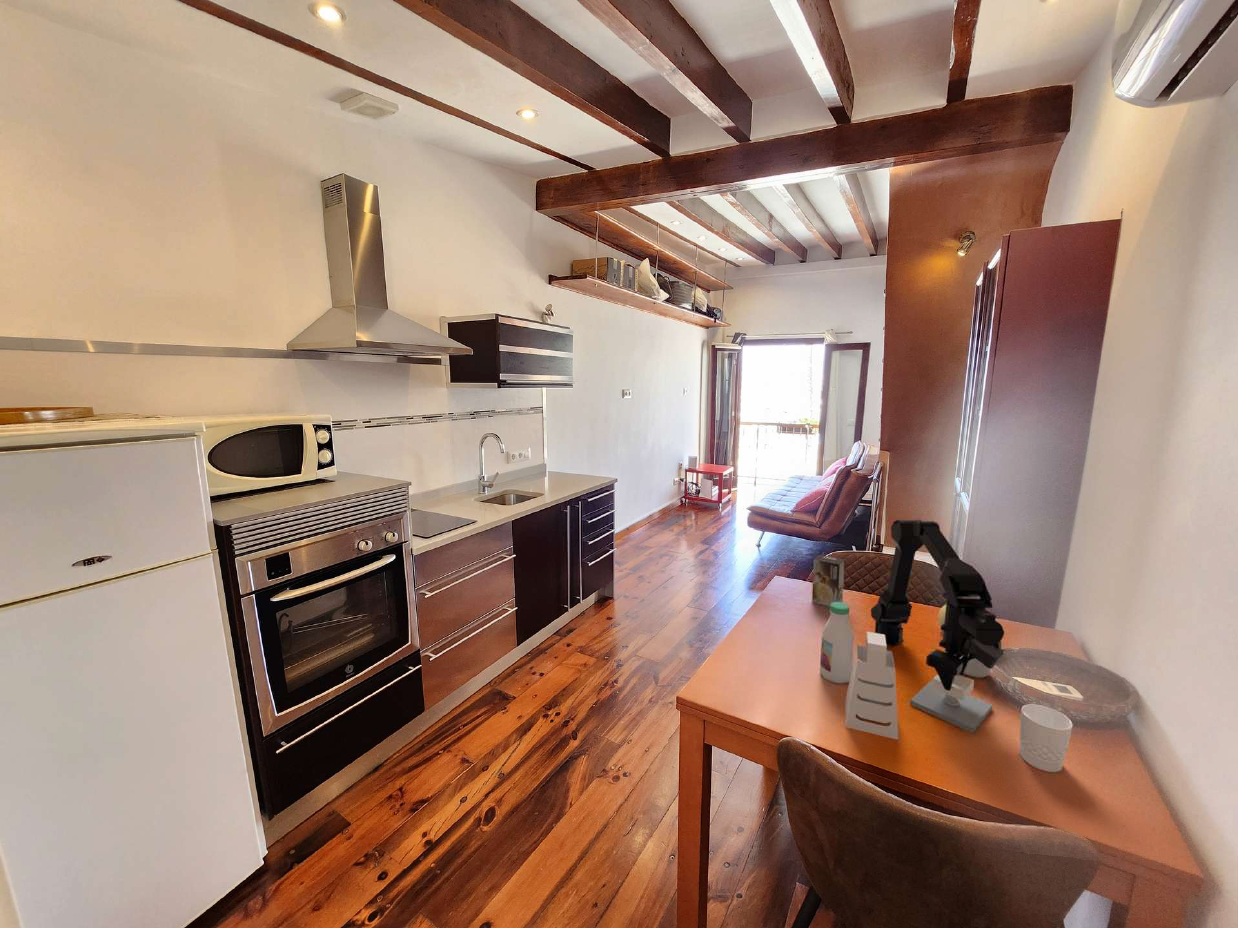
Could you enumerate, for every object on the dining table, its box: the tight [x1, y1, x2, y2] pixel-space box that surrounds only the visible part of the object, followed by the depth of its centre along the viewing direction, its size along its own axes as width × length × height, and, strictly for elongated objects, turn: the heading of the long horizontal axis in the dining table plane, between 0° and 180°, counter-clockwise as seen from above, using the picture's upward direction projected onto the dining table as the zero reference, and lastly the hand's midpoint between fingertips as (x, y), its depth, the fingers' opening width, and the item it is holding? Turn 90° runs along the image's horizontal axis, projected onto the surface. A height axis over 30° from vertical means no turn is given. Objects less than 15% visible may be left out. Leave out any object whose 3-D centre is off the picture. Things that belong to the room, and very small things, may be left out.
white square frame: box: [932, 673, 975, 701], centre depth 119 cm, size 6×6×2 cm
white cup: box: [1019, 703, 1073, 773], centre depth 102 cm, size 8×8×10 cm
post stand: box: [909, 679, 994, 734], centre depth 119 cm, size 13×13×5 cm
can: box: [963, 658, 991, 679], centre depth 133 cm, size 8×8×12 cm
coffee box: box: [811, 554, 846, 608], centre depth 175 cm, size 9×6×16 cm
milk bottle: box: [819, 602, 855, 684], centre depth 131 cm, size 8×8×20 cm
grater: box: [845, 631, 899, 741], centre depth 114 cm, size 10×10×20 cm
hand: (952, 684), depth 119 cm, fingers closed on white square frame, 6 cm apart
